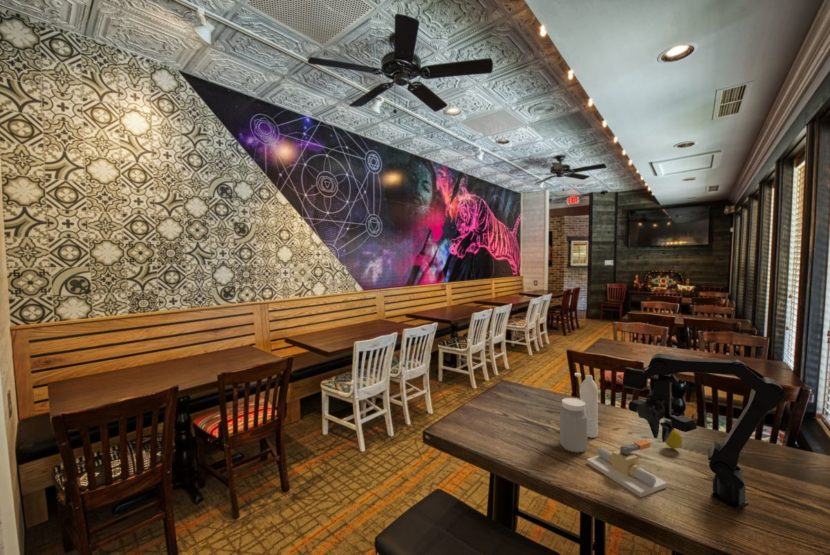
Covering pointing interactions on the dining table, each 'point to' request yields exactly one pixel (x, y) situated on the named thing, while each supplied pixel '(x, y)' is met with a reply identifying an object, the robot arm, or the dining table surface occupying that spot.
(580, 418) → the jar
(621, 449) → the lever
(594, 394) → the water bottle
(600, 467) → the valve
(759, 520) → the dining table surface
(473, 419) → the dining table surface
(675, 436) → the lemon
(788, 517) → the dining table surface
